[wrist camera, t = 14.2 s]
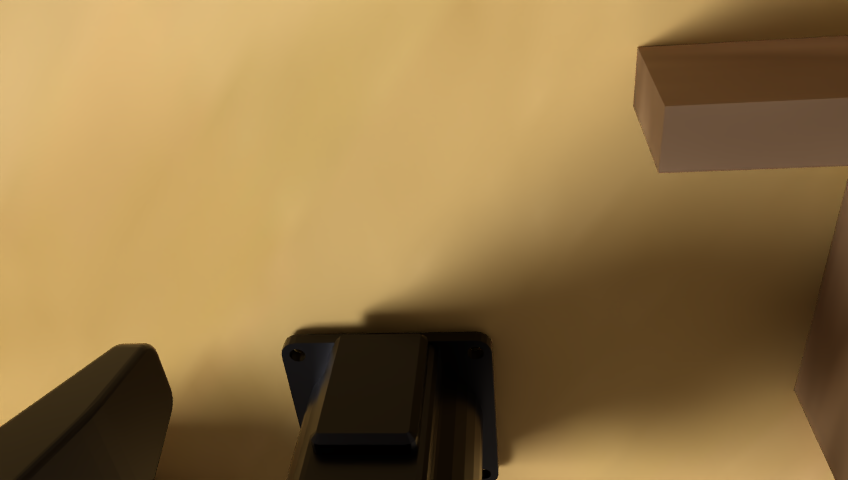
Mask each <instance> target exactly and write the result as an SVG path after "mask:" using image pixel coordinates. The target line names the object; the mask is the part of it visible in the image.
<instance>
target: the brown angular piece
mask: <svg viewBox="0 0 848 480" xmlns="http://www.w3.org/2000/svg"><path fill="white" fill-rule="evenodd" d="M633 107H634V109H635V112H636V114H637V117H638V120H639V122H640V125H641V128H642V130H643V133H644V136H645V138H646V141H647V144H648V146H649V149H650V152H651V154H652V157H653V159H654V162H655V165H656V167H657V170H658V173H671V172H697V171H724V170H751V169H777V168H804V167H830V166H848V35H847V36H829V37H811V38H793V39H775V40H757V41H739V42H721V43H703V44H685V45H667V46H649V47H638V49H637V63H636V76H635V90H634V104H633ZM794 391H795V393H796V395H797V397H798V400H799V402H800V404H801V406H802V408H803V411H804V413H805V415H806V417H807V419H808V421H809V424H810V426H811V428H812V430H813V432H814V434H815V437H816V439H817V441H818V443H819V445H820V448H821V450H822V452H823V454H824V456H825V458H826V461H827V463H828V465H829V467H830V469H831V471H832V474H833V476H834V478H835V480H848V180H847V184H846V188H845V192H844V196H843V200H842V204H841V208H840V212H839V216H838V220H837V223H836V227H835V231H834V235H833V239H832V243H831V247H830V251H829V255H828V259H827V263H826V267H825V271H824V274H823V278H822V282H821V286H820V290H819V294H818V298H817V302H816V306H815V310H814V314H813V318H812V322H811V325H810V329H809V333H808V337H807V341H806V345H805V349H804V353H803V357H802V361H801V365H800V369H799V373H798V376H797V380H796V384H795V388H794Z"/></svg>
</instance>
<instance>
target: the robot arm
mask: <svg viewBox="0 0 848 480" xmlns="http://www.w3.org/2000/svg"><path fill="white" fill-rule="evenodd" d="M471 347H480V348H481V350H477V351H475V350H471V349H470V348H471ZM294 349H298V350H301V351H303V352H304V353H299V352H296V351H295V350H294ZM282 358H283V362H284V366H285V370H286V374H287V378H288V382H289V386H290V390H291V394H292V397H293V401H294V405H295V409H296V413H297V417H298V421H299V425H300V433H299V436H298V440H297V443H296V447H295V450H294V454H293V457H292V461H291V465H290V468H289V472H288V475H287V479H286V480H496V479H497V478H498V448H497V429H496V409H495V389H494V370H493V350H492V342H491V339H490V338H489V337H488V336H487V335H485V334H483V333H481V332H428V333H366V334H305V335H292V336H290V337H289V338H287V340H286V341H285V343H284V346H283V349H282ZM172 405H173V397H172V391H171V388H170V385H169V383H168V380H167V377H166V375H165V372H164V369H163V367H162V364H161V361H160V359H159V356H158V354H157V352H156V350H155V348H154V347H153V346H152V345H150V344H146V343H137V344H119V345H116V346H115V347H113V348H111V349H110V350H108V351H107V352H106V353H104V354H103V355H101V356H100V357H99V358H97V359H96V360H94V361H93V362H92V363H90V364H89V365H87V366H86V367H84V368H83V369H82V370H80V371H79V372H77V373H76V374H75V375H73V376H72V377H70V378H69V379H67V380H66V381H65V382H63V383H62V384H60V385H59V386H58V387H56V388H55V389H53V390H52V391H50V392H49V393H48V394H46V395H45V396H43V397H42V398H41V399H39V400H38V401H36V402H35V403H33V404H32V405H31V406H29V407H28V408H26V409H25V410H24V411H22V412H21V413H19V414H18V415H16V416H15V417H14V418H12V419H11V420H9V421H8V422H7V423H5V424H4V425H2V426H1V427H0V480H154V478H155V474H156V470H157V466H158V463H159V459H160V455H161V451H162V447H163V443H164V439H165V435H166V432H167V428H168V424H169V420H170V416H171V412H172ZM483 469H485V470H483Z"/></svg>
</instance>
